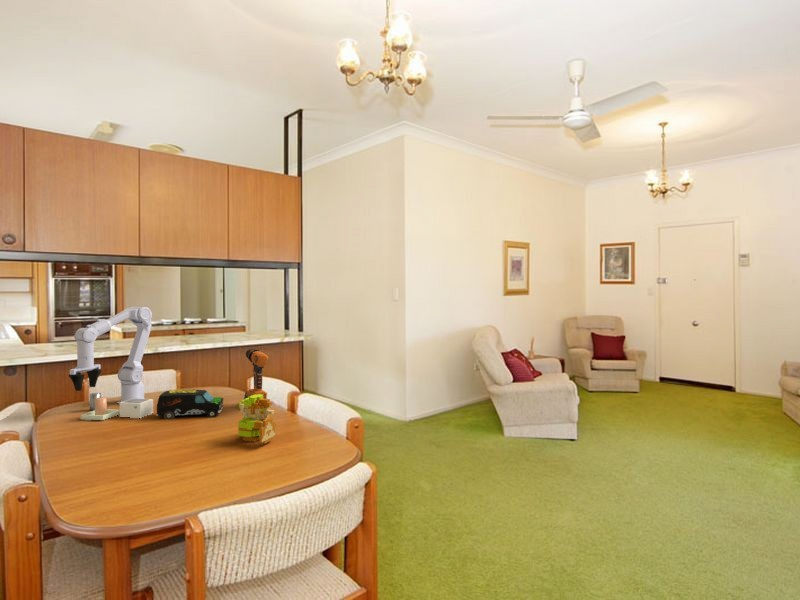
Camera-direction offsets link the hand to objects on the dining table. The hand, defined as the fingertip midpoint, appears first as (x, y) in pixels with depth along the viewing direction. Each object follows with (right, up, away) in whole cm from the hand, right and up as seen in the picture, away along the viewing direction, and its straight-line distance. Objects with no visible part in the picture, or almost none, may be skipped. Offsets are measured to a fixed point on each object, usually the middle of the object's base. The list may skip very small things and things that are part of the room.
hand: (85, 388), depth 196 cm
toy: (+82, -12, -32) cm, 89 cm away
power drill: (+65, -11, +18) cm, 69 cm away
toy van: (+45, -11, -2) cm, 46 cm away
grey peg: (+2, -10, +4) cm, 11 cm away
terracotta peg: (+11, -10, -7) cm, 16 cm away
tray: (+11, -10, -7) cm, 17 cm away
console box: (+24, -10, -4) cm, 26 cm away
